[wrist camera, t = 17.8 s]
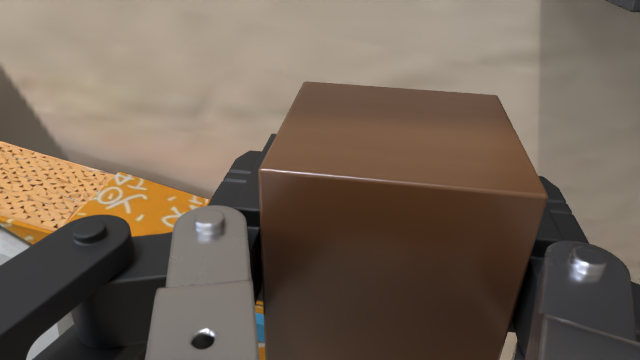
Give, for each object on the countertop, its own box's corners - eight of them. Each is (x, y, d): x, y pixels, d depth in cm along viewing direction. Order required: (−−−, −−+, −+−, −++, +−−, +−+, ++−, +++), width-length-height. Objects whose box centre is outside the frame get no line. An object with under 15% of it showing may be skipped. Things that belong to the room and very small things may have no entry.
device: (254, 552, 33) (-177, 429, 33) (278, 438, 41) (-75, 336, 40) (347, 321, 22) (-304, 131, 22) (359, 219, 29) (-132, 75, 29)
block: (303, 80, 12) (257, 168, 8) (498, 94, 11) (550, 196, 7) (301, 234, 14) (264, 362, 10) (464, 251, 14) (490, 393, 10)
